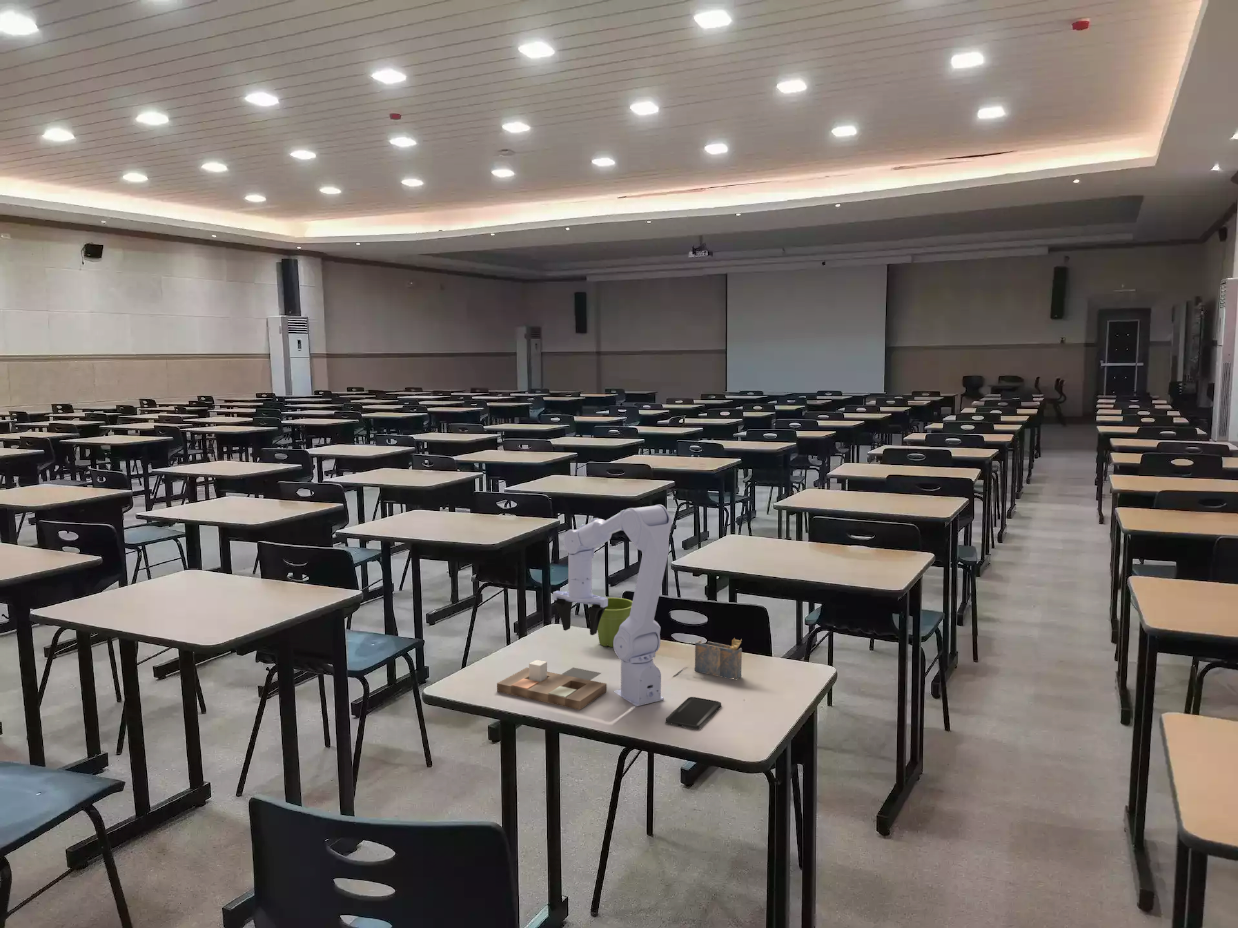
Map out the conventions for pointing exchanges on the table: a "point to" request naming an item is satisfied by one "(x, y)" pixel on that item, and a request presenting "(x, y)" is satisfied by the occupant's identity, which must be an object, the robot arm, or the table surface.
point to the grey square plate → (581, 673)
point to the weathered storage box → (719, 659)
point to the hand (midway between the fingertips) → (580, 631)
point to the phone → (693, 713)
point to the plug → (538, 670)
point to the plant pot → (613, 619)
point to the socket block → (553, 689)
